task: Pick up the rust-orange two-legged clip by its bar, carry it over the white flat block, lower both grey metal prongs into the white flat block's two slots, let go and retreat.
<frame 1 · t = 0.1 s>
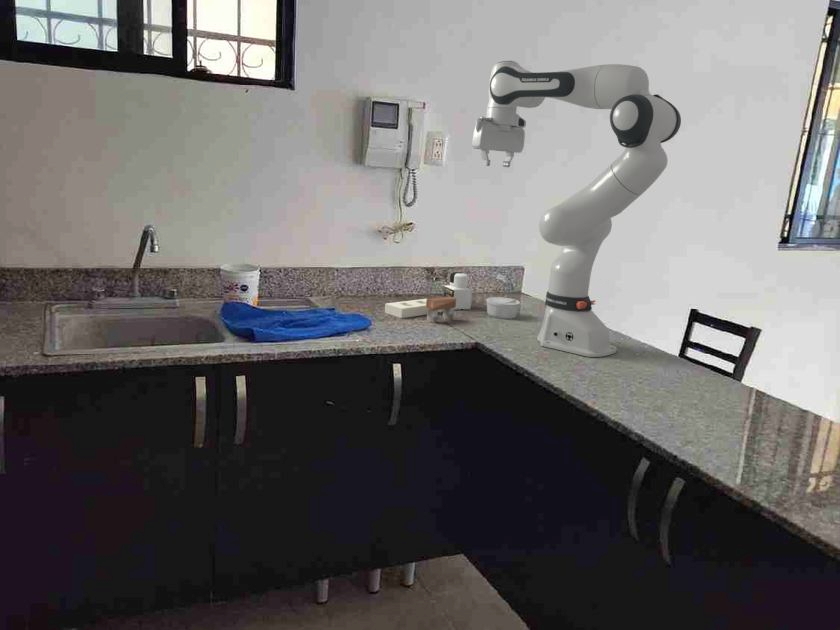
hand: (496, 166, 202), 48 cm above the countertop, fingers open, 8 cm apart
ramekin: (501, 316, 220), on the countertop
white flat block: (413, 312, 216), on the countertop
clip: (439, 320, 207), on the countertop
medicine bottle: (456, 308, 228), on the countertop
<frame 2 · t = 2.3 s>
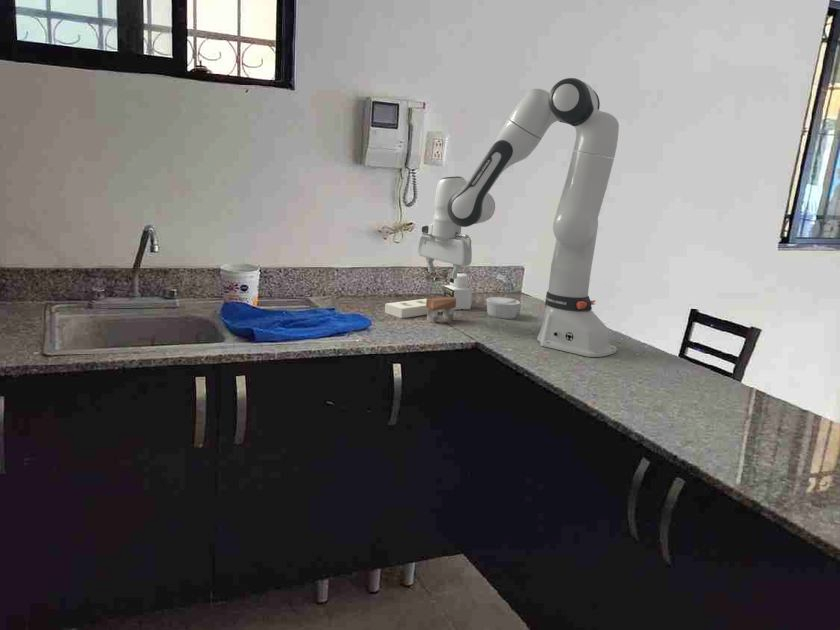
hand: (442, 275, 204), 14 cm above the countertop, fingers open, 8 cm apart
nothing on the countertop moved.
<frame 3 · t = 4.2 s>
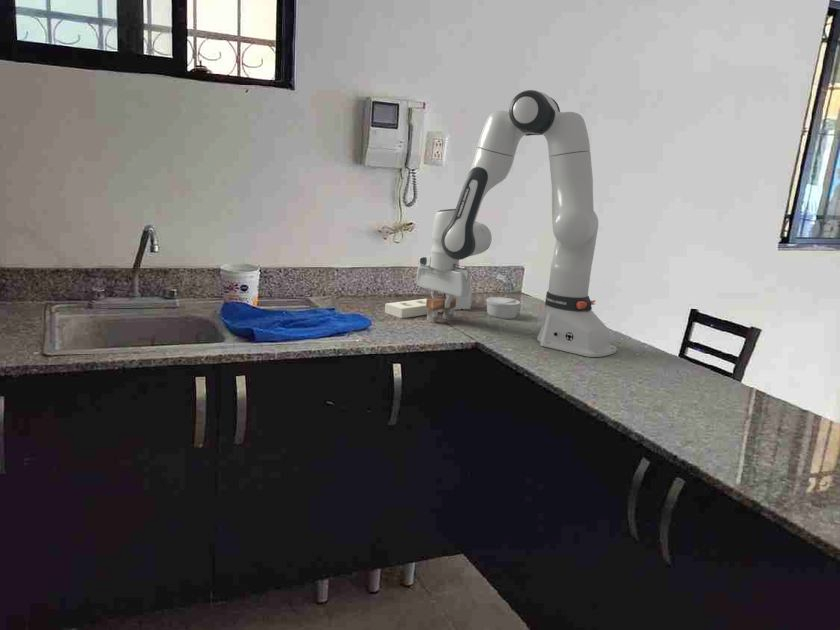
hand: (441, 306, 206), 5 cm above the countertop, fingers closed on clip, 3 cm apart
clip: (439, 320, 207), on the countertop, touching gripper
everything else where it was.
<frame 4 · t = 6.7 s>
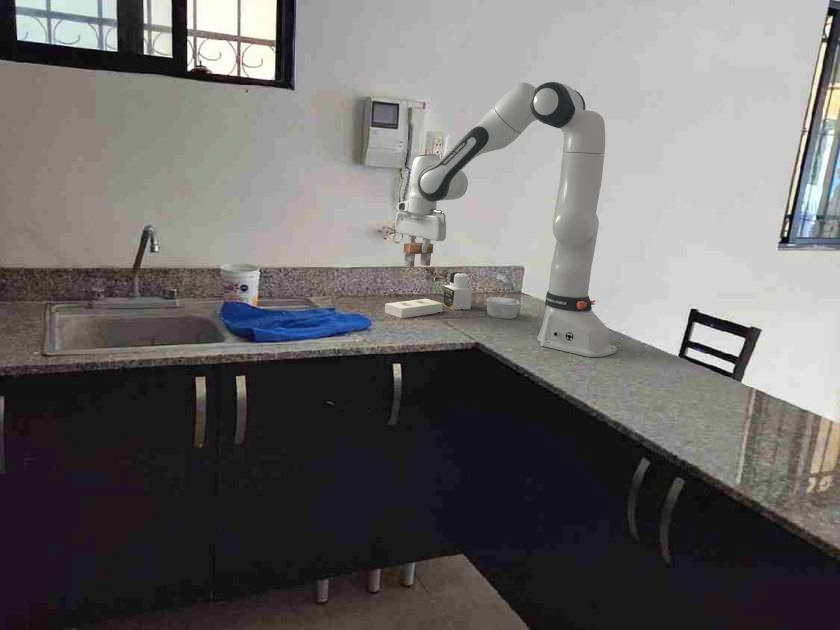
hand: (418, 251, 211), 20 cm above the countertop, fingers closed on clip, 3 cm apart
clip: (417, 265, 212), point 15 cm above the countertop, touching gripper
everything else where it was.
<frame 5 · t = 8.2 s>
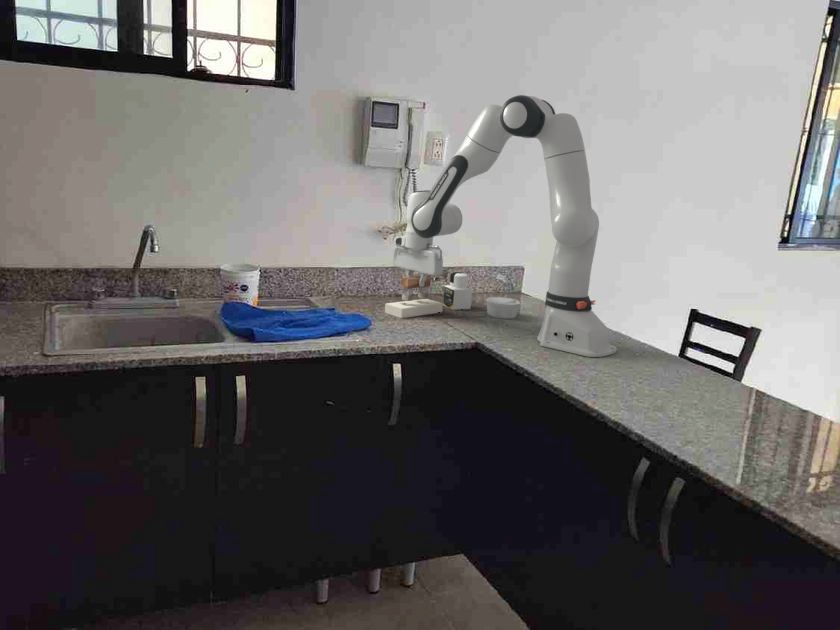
hand: (415, 284, 214), 9 cm above the countertop, fingers closed on clip, 3 cm apart
clip: (414, 298, 215), point 5 cm above the countertop, touching gripper
everything else where it was.
when the fingers open (5 cm above the countertop, at t = 9.5 s): clip stays where it is, resting in white flat block.
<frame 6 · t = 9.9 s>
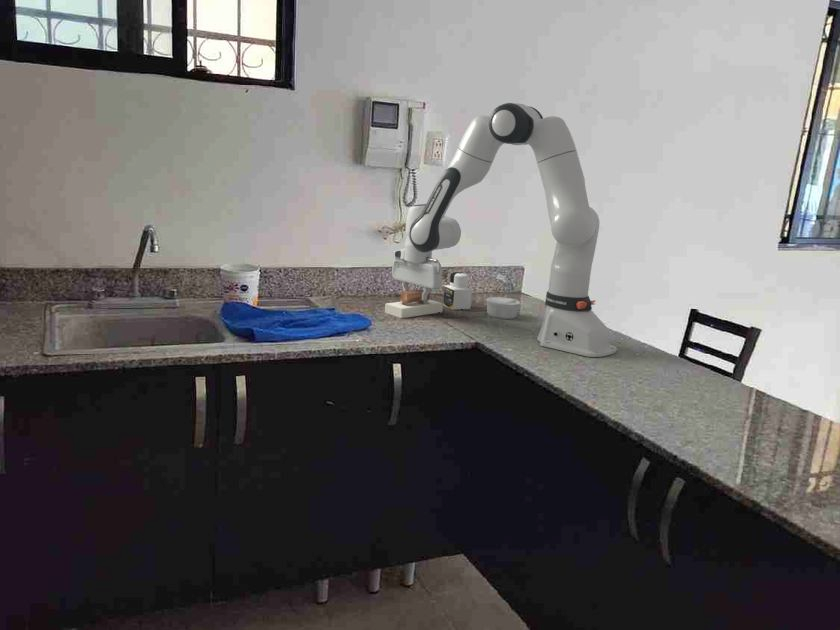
hand: (415, 297, 215), 5 cm above the countertop, fingers open, 6 cm apart
clip: (414, 312, 216), resting in white flat block
everything else where it was.
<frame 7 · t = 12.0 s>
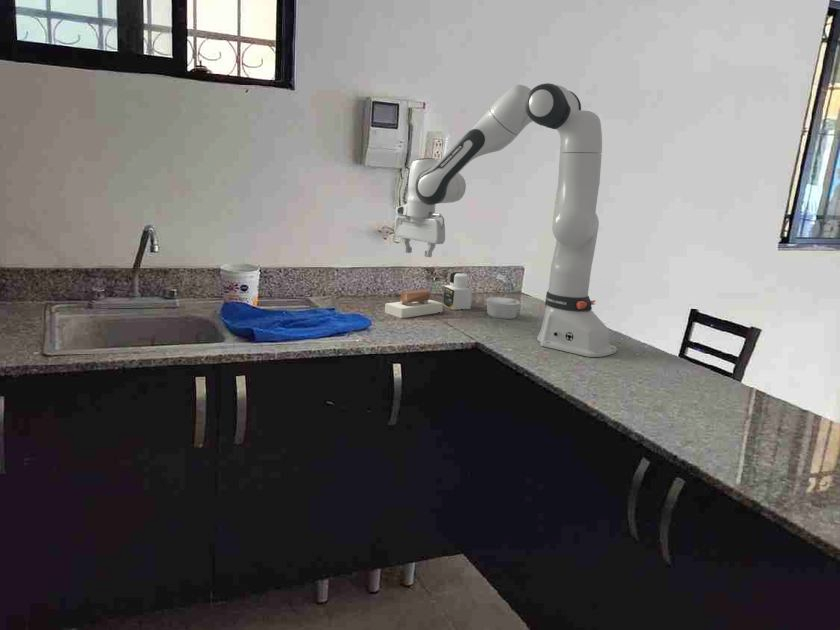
hand: (417, 254, 212), 19 cm above the countertop, fingers open, 8 cm apart
nothing on the countertop moved.
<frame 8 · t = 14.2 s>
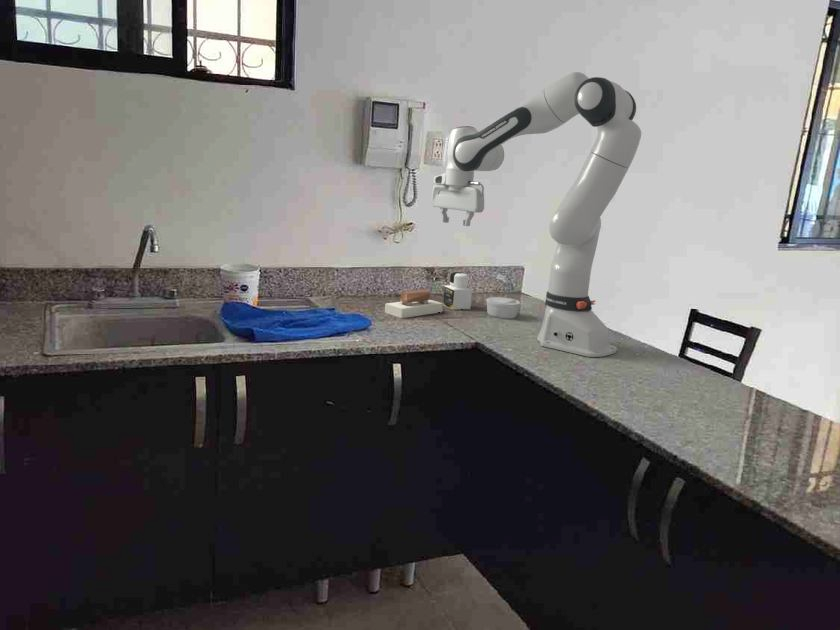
hand: (455, 224, 212), 29 cm above the countertop, fingers open, 8 cm apart
nothing on the countertop moved.
at the end: clip 0.1 cm off-centre on the white flat block, point 0.0 cm above the white flat block's base; clip tilted 0°; the gripper is holding nothing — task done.
